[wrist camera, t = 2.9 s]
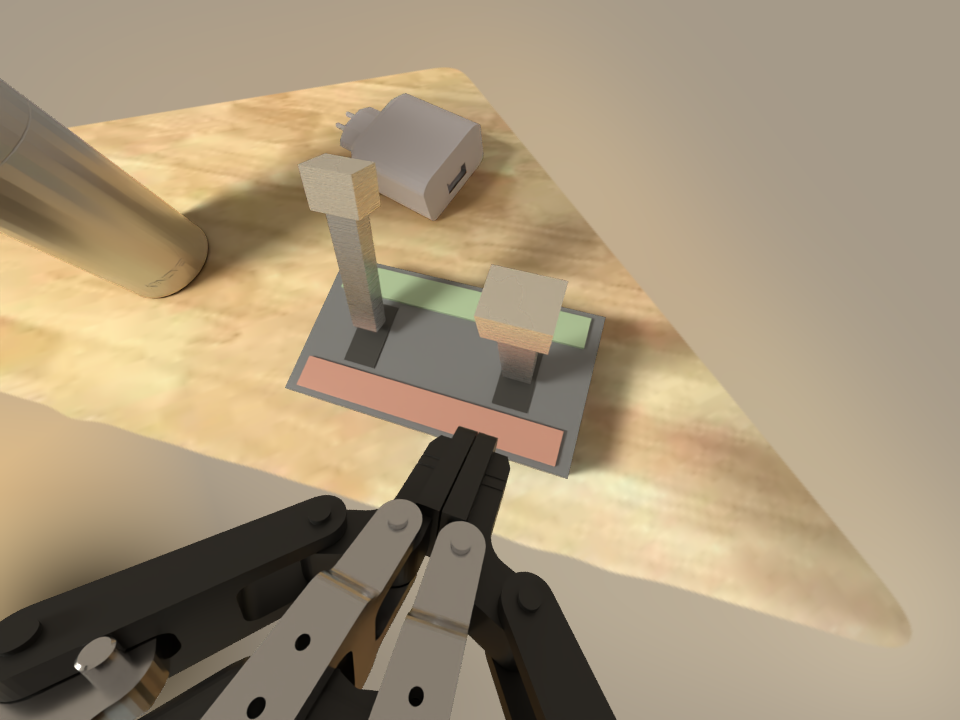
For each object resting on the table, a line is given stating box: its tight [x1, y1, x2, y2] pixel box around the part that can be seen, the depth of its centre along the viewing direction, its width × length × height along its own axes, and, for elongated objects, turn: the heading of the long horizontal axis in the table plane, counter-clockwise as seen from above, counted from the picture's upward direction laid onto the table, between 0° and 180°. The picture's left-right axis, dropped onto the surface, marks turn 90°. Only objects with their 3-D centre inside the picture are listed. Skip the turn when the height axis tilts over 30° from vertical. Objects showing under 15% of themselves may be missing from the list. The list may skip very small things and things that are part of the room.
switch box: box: [285, 264, 605, 479], centre depth 28 cm, size 12×22×4 cm, turn 72°
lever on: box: [298, 153, 386, 332], centre depth 23 cm, size 2×3×11 cm
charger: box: [336, 93, 483, 221], centre depth 36 cm, size 5×9×15 cm
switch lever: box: [474, 264, 568, 384], centre depth 19 cm, size 2×3×11 cm
